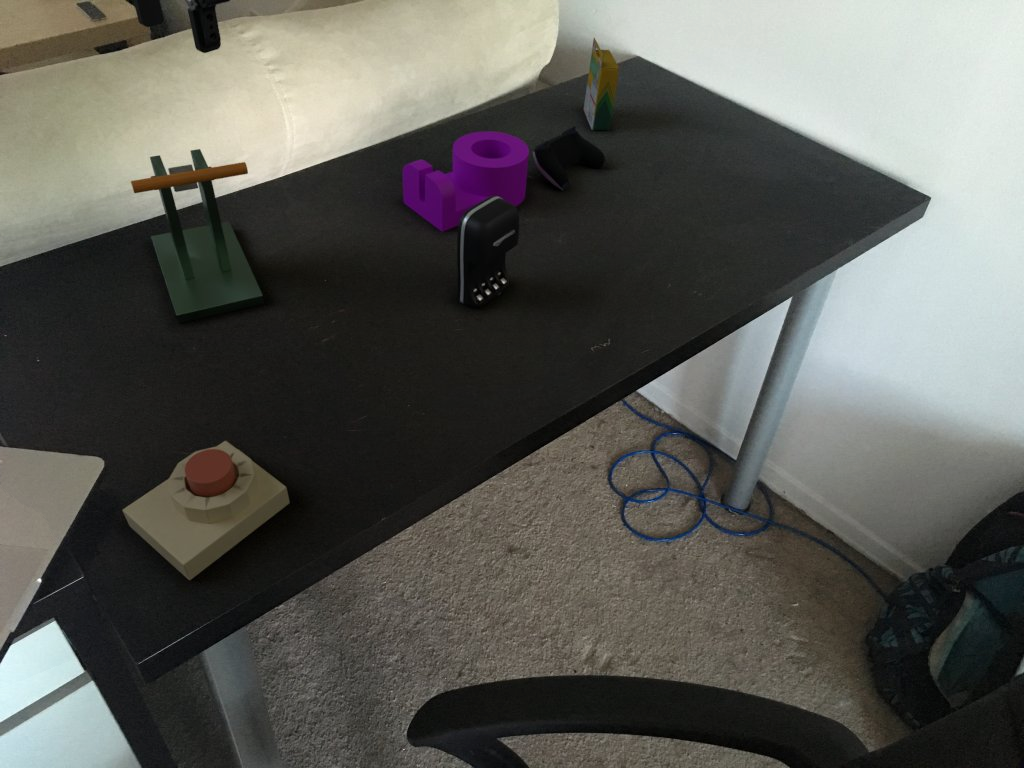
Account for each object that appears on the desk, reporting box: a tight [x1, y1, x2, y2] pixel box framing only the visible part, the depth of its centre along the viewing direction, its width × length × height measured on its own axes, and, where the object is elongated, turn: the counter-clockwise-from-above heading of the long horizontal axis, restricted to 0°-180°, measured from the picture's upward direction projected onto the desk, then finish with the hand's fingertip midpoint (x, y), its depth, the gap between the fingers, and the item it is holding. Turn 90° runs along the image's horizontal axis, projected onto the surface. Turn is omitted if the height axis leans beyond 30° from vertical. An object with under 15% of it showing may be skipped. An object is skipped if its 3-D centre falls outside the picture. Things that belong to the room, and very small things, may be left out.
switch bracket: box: [149, 148, 265, 325], centre depth 85 cm, size 16×9×14 cm, turn 27°
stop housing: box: [122, 440, 291, 581], centre depth 64 cm, size 10×8×4 cm
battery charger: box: [456, 196, 520, 309], centre depth 86 cm, size 7×4×11 cm, turn 142°
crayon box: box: [583, 37, 620, 131], centre depth 121 cm, size 7×3×12 cm, turn 7°
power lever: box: [130, 161, 249, 194], centre depth 77 cm, size 13×10×2 cm
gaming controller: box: [532, 125, 606, 191], centre depth 111 cm, size 11×4×7 cm
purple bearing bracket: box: [402, 130, 530, 233], centre depth 103 cm, size 16×10×6 cm, turn 131°
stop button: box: [185, 448, 236, 497], centre depth 63 cm, size 4×4×2 cm
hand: (180, 37), depth 73 cm, fingers open, 8 cm apart
